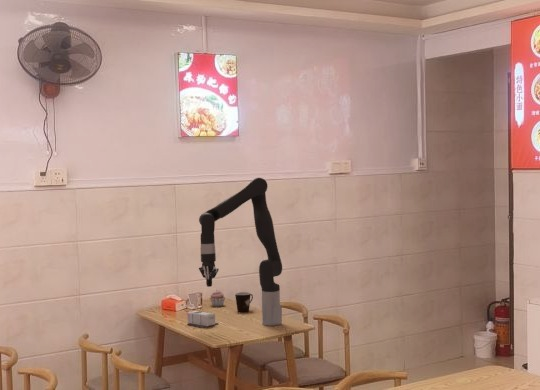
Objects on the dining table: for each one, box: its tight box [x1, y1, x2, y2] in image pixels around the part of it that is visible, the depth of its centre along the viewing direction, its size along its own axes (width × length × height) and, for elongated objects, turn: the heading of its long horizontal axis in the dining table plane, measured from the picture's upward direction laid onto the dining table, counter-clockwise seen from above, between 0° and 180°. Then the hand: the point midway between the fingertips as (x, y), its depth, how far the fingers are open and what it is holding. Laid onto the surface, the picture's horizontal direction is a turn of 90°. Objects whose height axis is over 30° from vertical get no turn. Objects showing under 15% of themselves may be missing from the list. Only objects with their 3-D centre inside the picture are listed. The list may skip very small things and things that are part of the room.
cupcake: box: [209, 288, 226, 308], centre depth 409 cm, size 9×9×10 cm
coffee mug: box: [234, 291, 254, 314], centre depth 392 cm, size 12×9×10 cm
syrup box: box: [187, 310, 216, 327], centre depth 360 cm, size 6×6×14 cm
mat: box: [187, 322, 220, 329], centre depth 361 cm, size 12×11×1 cm
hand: (209, 286), depth 355 cm, fingers closed
